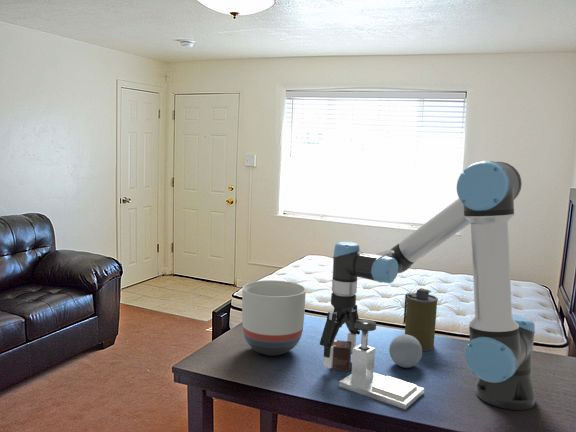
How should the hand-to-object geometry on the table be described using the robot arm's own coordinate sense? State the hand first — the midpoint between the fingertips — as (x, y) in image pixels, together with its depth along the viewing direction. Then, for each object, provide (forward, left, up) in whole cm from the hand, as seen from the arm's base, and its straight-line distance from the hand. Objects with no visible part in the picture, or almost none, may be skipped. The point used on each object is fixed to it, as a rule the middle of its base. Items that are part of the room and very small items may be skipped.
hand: (339, 360), depth 157 cm
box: (0, 0, -2) cm, 2 cm away
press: (-17, +6, -2) cm, 18 cm away
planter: (+23, +5, -2) cm, 23 cm away
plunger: (-11, +6, +3) cm, 13 cm away
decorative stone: (-15, -14, -2) cm, 21 cm away
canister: (-11, -34, -2) cm, 36 cm away
